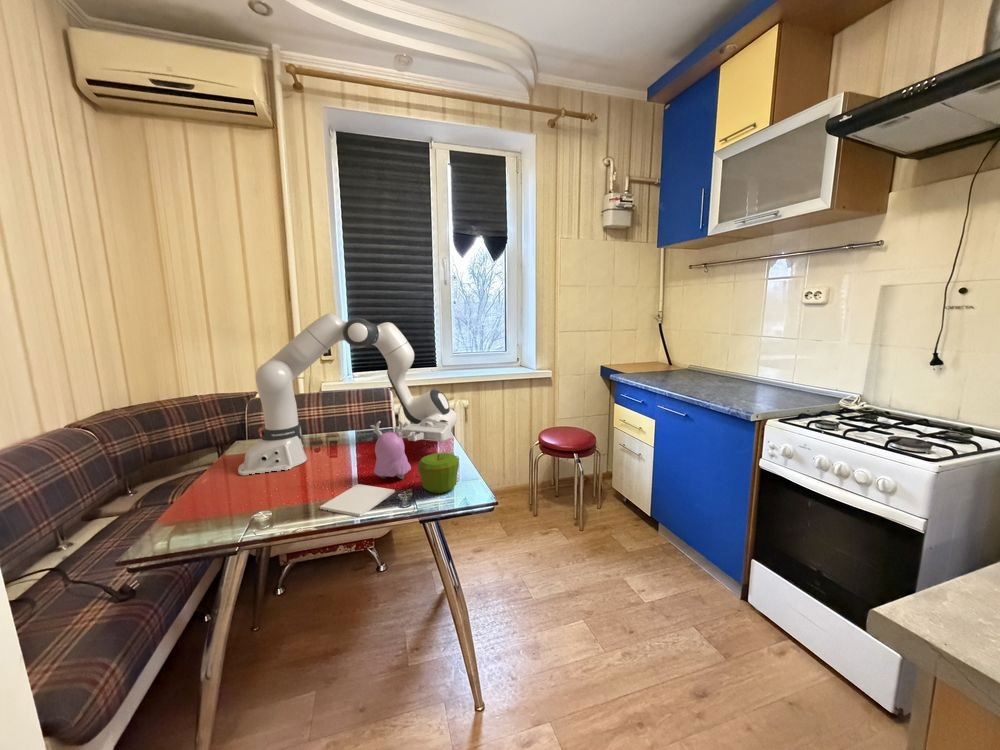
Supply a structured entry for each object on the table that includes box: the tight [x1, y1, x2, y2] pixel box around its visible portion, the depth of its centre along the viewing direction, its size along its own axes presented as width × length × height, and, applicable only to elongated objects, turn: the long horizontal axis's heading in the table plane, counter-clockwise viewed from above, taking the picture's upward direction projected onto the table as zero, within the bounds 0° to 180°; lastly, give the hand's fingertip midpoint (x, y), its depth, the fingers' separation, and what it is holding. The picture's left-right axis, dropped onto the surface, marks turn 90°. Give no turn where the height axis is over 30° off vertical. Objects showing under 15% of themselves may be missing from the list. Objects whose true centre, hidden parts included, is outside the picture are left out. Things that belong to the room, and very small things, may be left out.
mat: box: [319, 483, 396, 517], centre depth 122 cm, size 16×14×1 cm
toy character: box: [369, 419, 412, 480], centre depth 137 cm, size 12×10×20 cm
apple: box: [417, 452, 460, 494], centre depth 128 cm, size 12×12×11 cm
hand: (411, 438), depth 148 cm, fingers closed
